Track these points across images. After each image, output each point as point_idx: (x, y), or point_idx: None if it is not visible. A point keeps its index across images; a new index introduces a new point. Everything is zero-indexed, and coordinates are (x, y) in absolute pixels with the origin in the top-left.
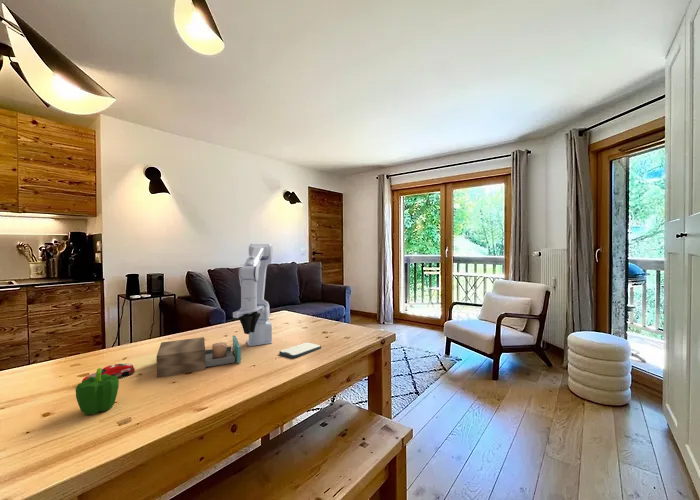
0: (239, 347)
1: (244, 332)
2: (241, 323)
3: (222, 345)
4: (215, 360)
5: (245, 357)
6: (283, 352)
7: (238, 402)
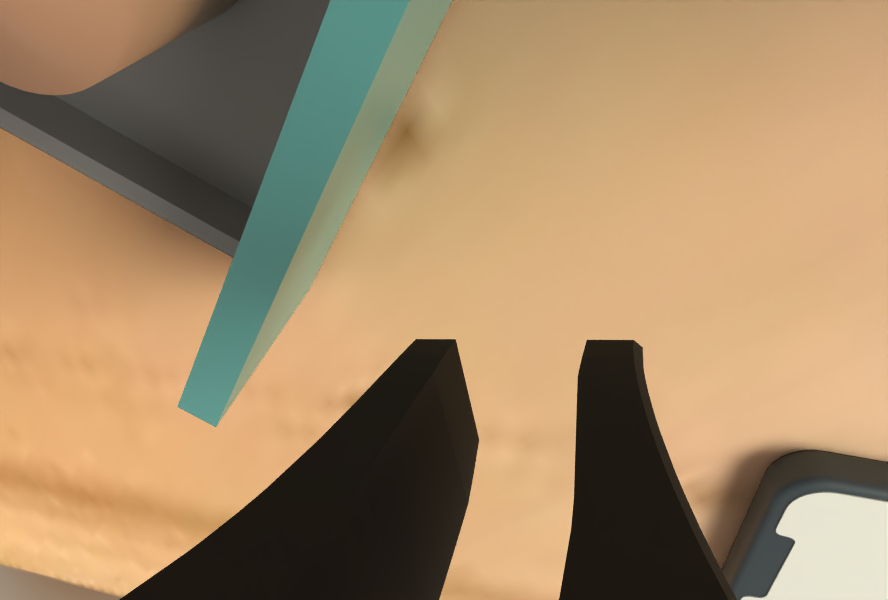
0: (205, 413)
1: (402, 366)
2: (205, 552)
3: (37, 71)
4: (20, 129)
5: (474, 177)
6: (769, 535)
7: (77, 583)
